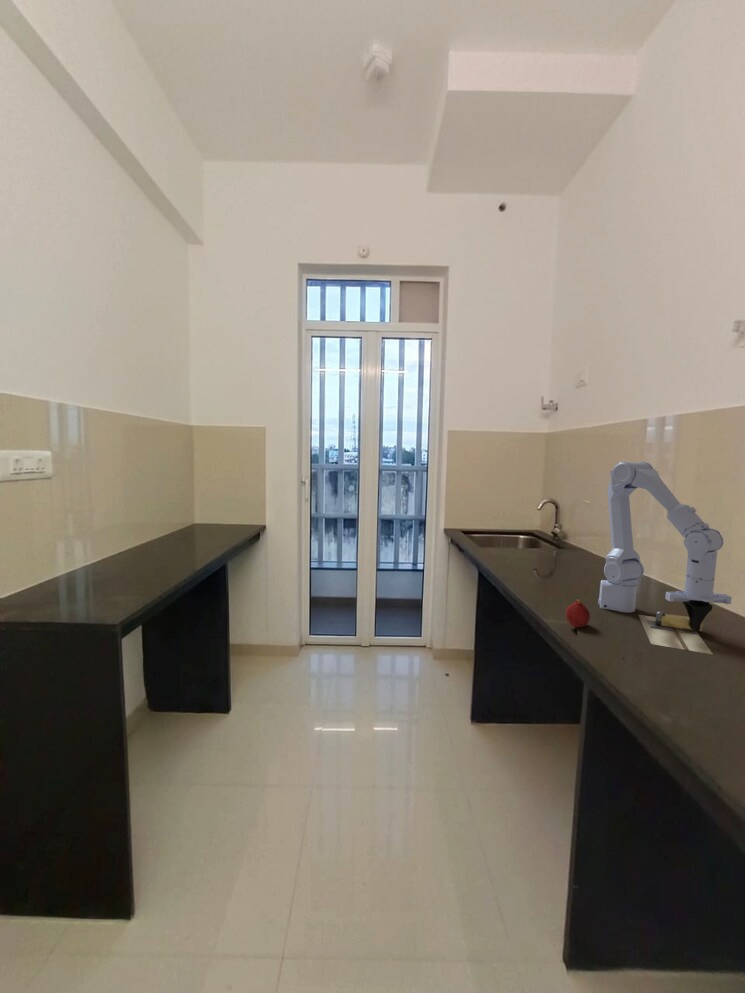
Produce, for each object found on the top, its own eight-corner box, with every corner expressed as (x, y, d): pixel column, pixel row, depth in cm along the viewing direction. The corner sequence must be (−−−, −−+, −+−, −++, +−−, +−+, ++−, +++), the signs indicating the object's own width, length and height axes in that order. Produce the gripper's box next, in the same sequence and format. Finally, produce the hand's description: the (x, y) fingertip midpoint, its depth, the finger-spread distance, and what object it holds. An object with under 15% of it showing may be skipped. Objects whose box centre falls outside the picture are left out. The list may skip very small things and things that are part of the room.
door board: (650, 648, 104) (651, 642, 104) (638, 618, 123) (638, 613, 123) (712, 659, 99) (713, 653, 99) (689, 626, 118) (689, 621, 118)
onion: (569, 622, 119) (571, 594, 118) (592, 629, 115) (594, 599, 114) (561, 628, 115) (563, 599, 114) (583, 635, 111) (586, 605, 110)
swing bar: (656, 625, 114) (657, 613, 114) (654, 622, 116) (655, 610, 116) (702, 631, 111) (703, 618, 110) (698, 628, 113) (700, 615, 113)
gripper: (679, 580, 105) (674, 634, 106) (743, 583, 104) (737, 637, 105) (662, 572, 112) (657, 623, 113) (721, 574, 111) (716, 626, 112)
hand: (694, 629), depth 110 cm, fingers closed, pressing on swing bar
